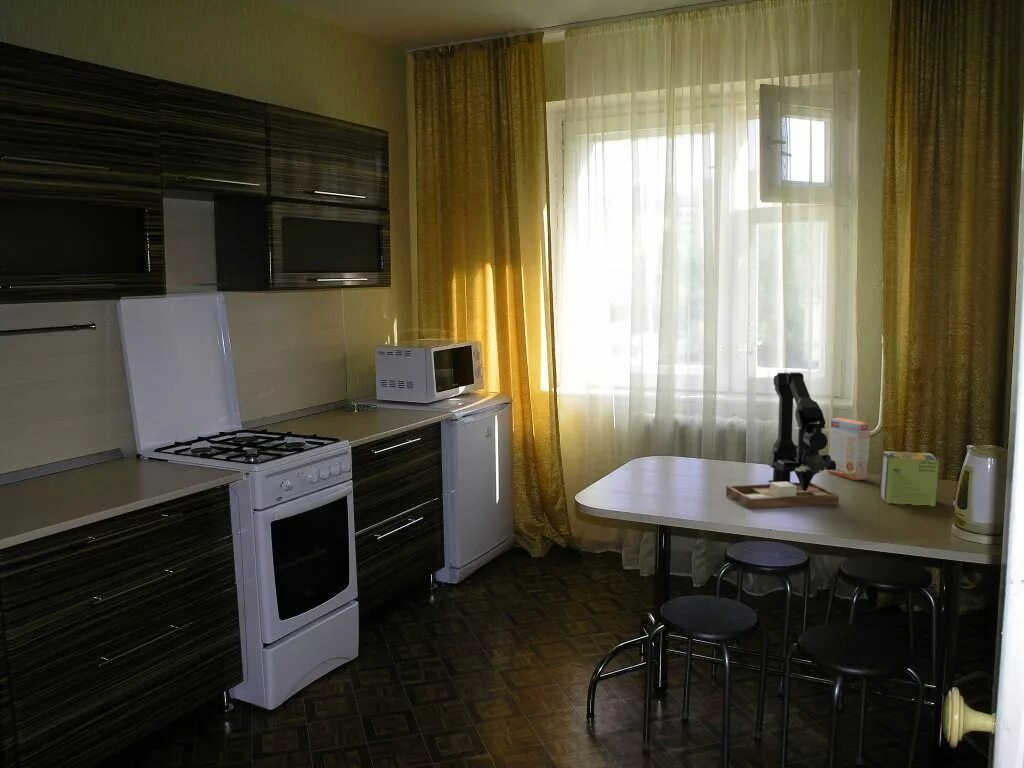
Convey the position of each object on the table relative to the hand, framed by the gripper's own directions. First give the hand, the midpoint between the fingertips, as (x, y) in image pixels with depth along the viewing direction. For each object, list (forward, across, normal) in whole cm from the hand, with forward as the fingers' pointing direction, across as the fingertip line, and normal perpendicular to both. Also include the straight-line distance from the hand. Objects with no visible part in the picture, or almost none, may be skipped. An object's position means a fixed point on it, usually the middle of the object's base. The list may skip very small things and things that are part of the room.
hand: (804, 490), depth 281 cm
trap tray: (+4, -6, +4) cm, 8 cm away
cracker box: (+4, +35, +30) cm, 46 cm away
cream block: (+2, -8, 0) cm, 8 cm away
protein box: (+4, +35, -4) cm, 36 cm away
